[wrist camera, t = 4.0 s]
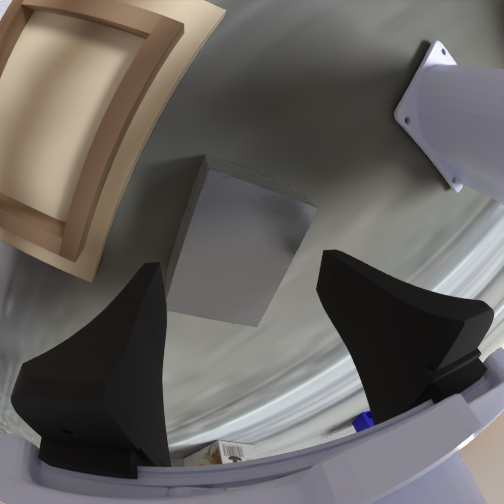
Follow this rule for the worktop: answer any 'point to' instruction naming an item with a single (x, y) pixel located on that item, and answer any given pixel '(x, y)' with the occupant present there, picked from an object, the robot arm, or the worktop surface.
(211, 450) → the coffee box
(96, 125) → the tray
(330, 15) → the worktop surface
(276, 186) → the block
